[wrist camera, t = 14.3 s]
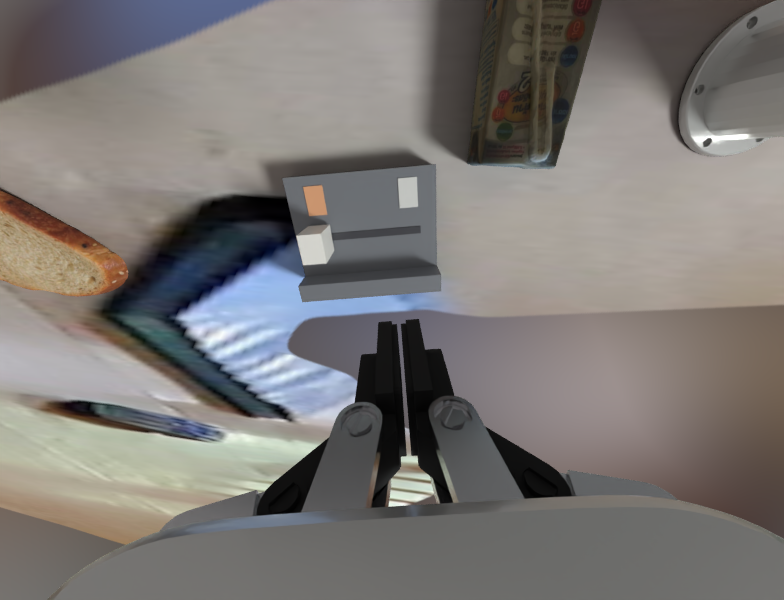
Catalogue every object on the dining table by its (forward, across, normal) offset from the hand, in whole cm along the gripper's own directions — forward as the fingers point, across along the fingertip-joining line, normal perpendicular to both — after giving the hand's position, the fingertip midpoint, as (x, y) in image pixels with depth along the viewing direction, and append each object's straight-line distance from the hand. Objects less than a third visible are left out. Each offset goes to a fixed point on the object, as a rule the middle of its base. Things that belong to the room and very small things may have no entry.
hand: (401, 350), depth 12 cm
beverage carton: (+26, -14, -15) cm, 33 cm away
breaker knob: (+22, +8, 0) cm, 23 cm away
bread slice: (+26, +45, -3) cm, 52 cm away
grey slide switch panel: (+25, +3, 0) cm, 25 cm away
